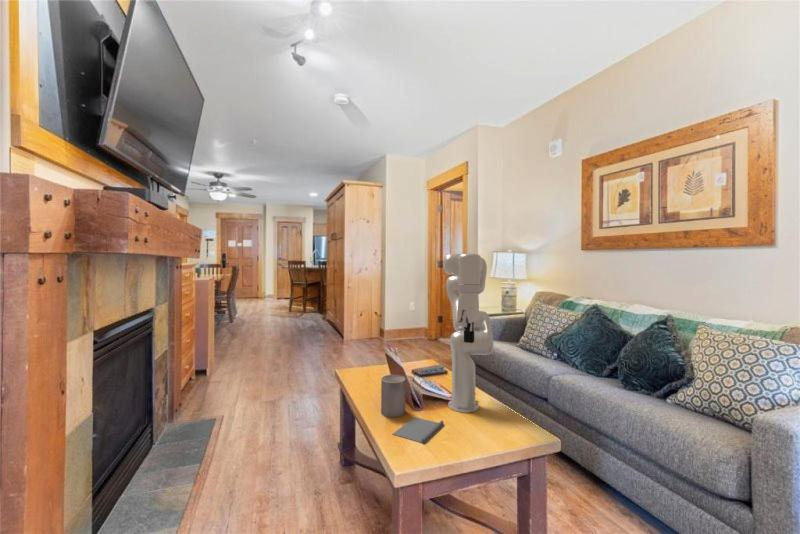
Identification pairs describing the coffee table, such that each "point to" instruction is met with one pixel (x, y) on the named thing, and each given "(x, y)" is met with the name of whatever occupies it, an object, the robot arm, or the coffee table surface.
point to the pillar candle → (393, 395)
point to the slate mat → (419, 430)
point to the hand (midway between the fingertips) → (469, 342)
